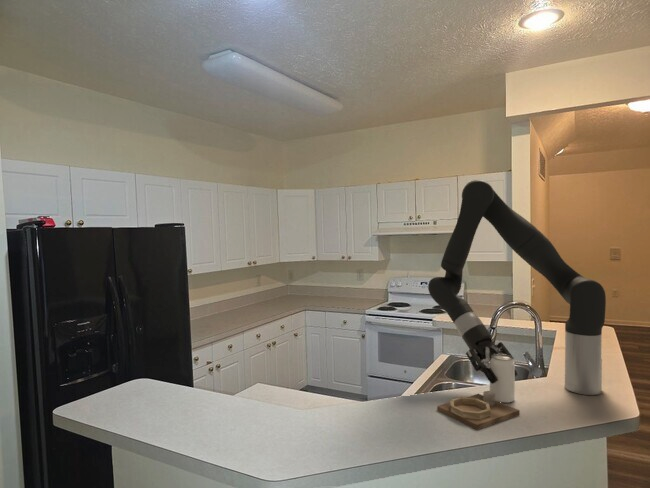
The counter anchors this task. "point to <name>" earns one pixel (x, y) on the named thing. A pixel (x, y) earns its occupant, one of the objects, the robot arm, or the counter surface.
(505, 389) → the can
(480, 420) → the board
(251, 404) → the counter surface
